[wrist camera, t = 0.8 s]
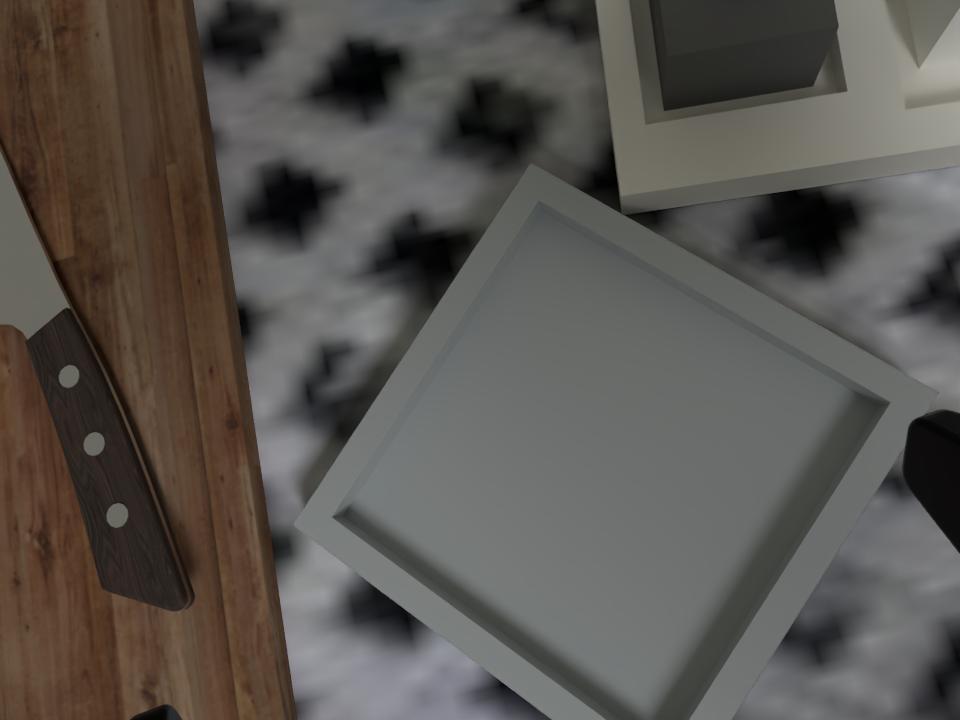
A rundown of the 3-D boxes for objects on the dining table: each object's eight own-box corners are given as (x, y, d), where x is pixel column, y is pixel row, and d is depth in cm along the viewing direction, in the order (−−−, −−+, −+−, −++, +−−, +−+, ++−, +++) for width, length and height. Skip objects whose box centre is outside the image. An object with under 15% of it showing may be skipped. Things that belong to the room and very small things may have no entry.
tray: (919, 399, 22) (938, 392, 20) (671, 790, 21) (673, 811, 20) (536, 180, 24) (530, 162, 23) (312, 523, 24) (292, 525, 23)
